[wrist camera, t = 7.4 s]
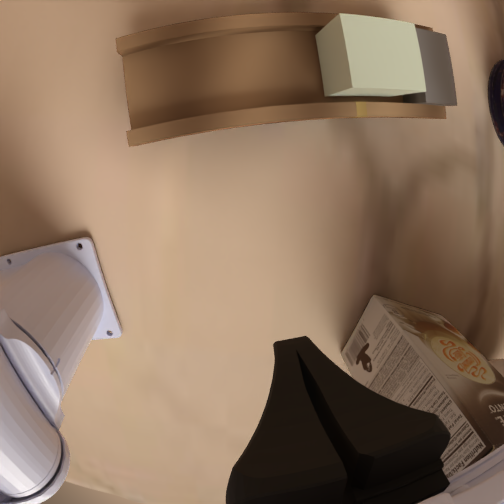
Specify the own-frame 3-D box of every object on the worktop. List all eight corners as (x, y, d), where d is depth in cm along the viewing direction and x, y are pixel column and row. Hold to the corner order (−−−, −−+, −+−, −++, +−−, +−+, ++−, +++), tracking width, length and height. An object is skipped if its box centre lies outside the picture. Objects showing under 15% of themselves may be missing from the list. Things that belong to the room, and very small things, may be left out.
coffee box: (443, 312, 25) (551, 424, 10) (410, 366, 27) (491, 486, 12) (371, 291, 23) (498, 448, 8) (335, 355, 25) (414, 519, 10)
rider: (324, 96, 15) (352, 87, 11) (315, 35, 14) (339, 13, 10) (389, 96, 15) (426, 91, 12) (380, 39, 14) (414, 23, 10)
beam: (146, 144, 18) (120, 148, 13) (134, 55, 16) (107, 30, 11) (411, 118, 19) (460, 119, 14) (400, 40, 17) (445, 23, 12)
